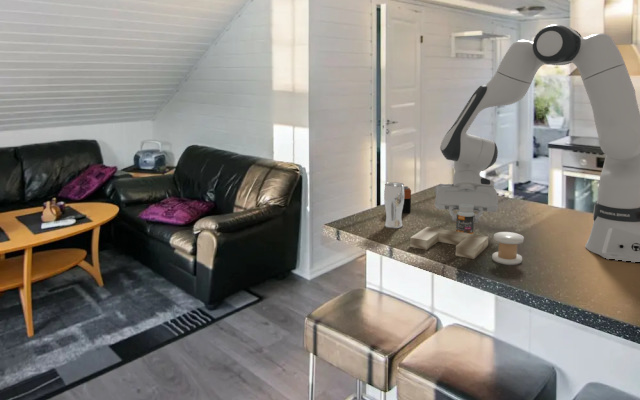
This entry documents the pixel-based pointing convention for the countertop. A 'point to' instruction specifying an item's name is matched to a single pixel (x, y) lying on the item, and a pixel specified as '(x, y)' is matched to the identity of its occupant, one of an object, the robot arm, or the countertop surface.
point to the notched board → (450, 241)
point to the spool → (507, 248)
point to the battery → (407, 200)
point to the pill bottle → (465, 219)
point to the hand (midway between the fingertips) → (465, 220)
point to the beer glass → (394, 204)
